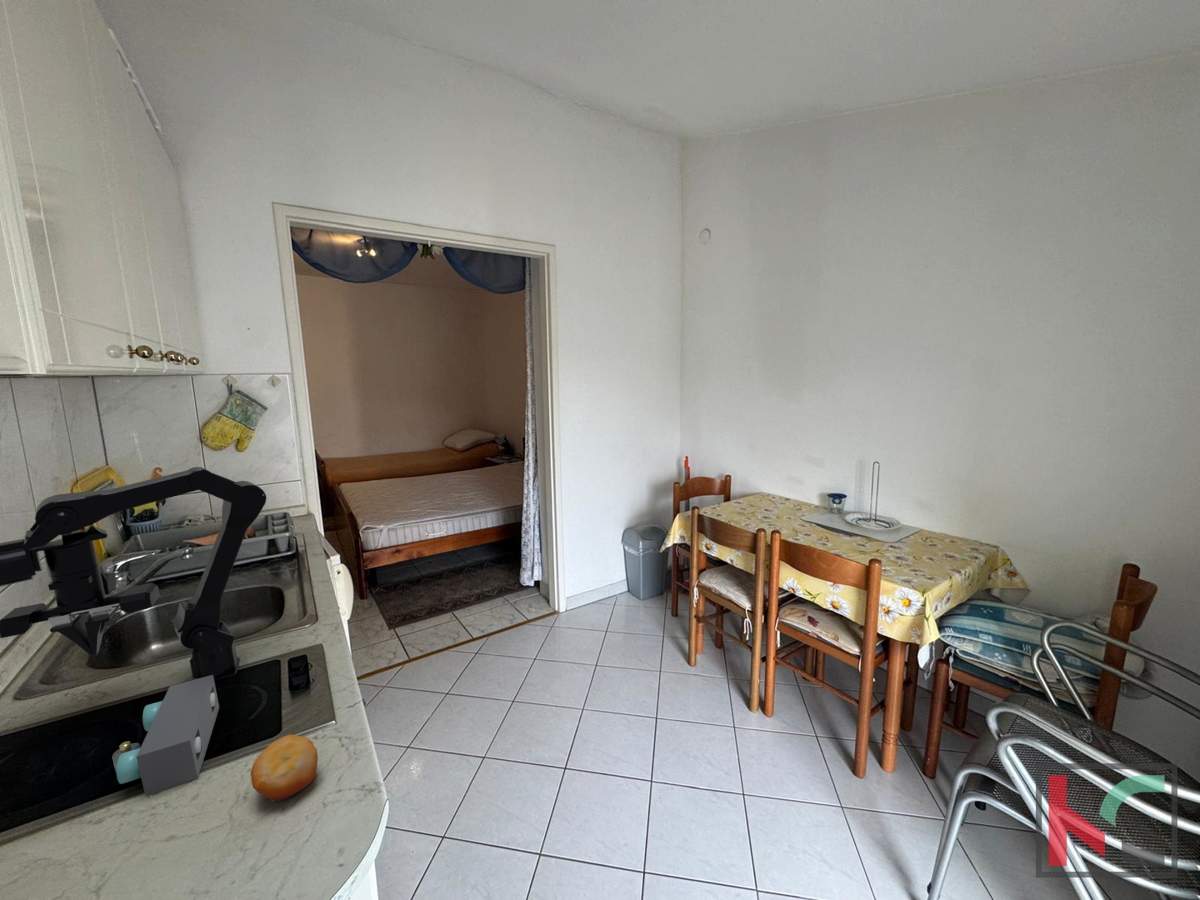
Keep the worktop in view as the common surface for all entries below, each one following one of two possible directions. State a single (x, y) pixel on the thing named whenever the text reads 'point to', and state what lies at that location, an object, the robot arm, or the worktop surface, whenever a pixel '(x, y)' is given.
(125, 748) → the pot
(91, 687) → the worktop surface
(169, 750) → the mount
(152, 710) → the knob
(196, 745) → the knob
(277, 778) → the fruit
